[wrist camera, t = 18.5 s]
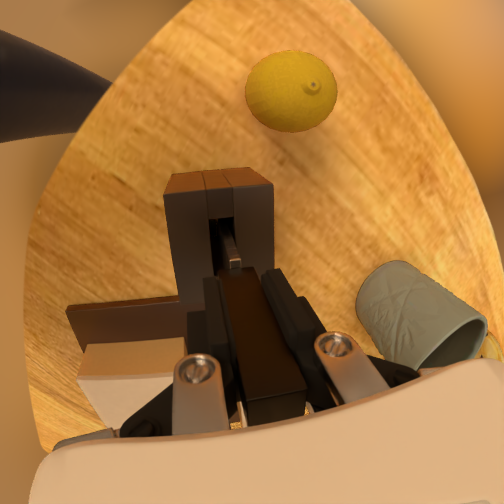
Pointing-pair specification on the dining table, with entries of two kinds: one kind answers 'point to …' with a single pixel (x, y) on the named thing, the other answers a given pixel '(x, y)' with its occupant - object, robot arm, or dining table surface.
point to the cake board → (132, 322)
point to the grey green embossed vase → (418, 318)
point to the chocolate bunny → (490, 348)
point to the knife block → (212, 207)
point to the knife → (258, 343)
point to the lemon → (291, 91)
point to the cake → (127, 375)
